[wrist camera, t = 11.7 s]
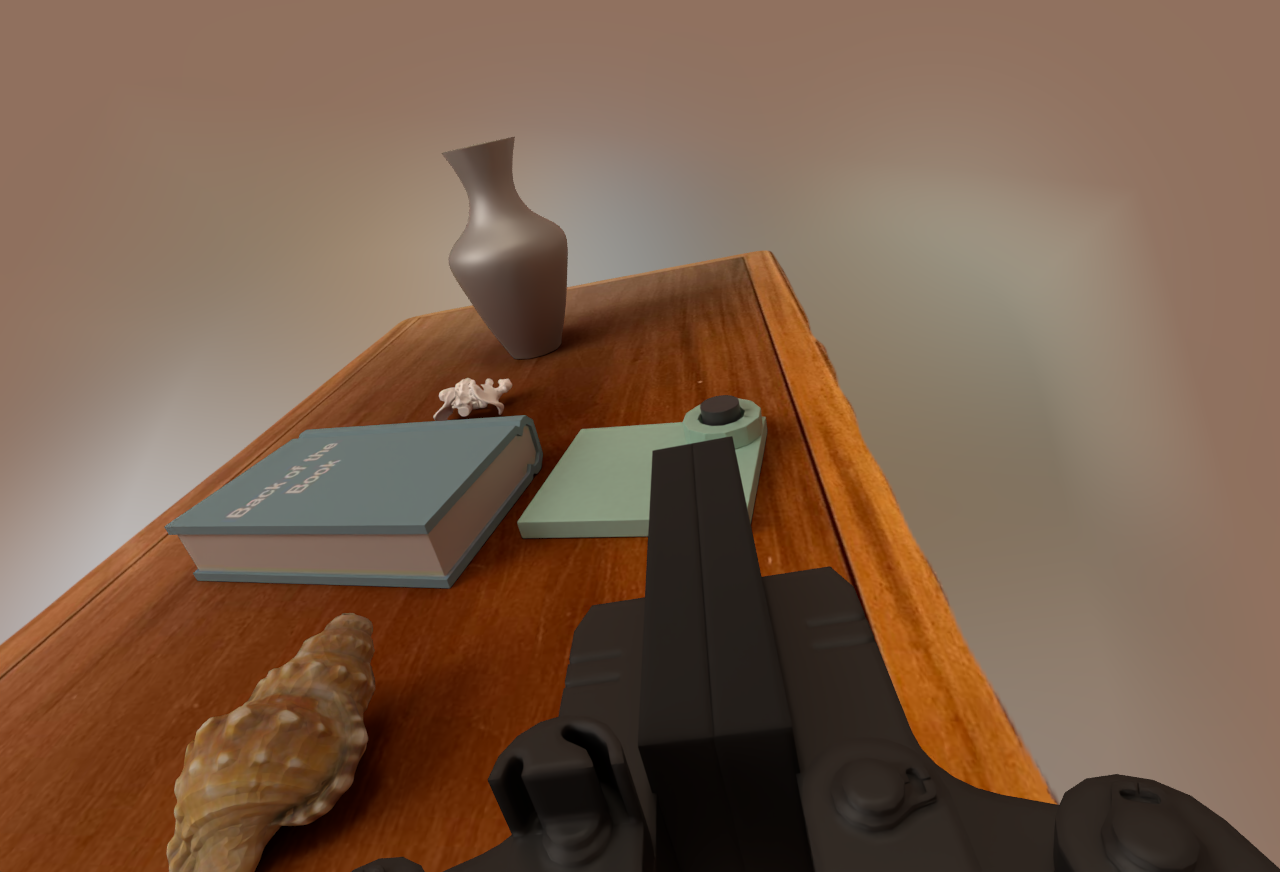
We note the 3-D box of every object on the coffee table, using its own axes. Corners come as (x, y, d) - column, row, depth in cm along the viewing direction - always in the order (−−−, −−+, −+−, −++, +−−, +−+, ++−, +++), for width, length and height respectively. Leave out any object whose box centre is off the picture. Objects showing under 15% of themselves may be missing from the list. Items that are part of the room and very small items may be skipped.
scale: (768, 429, 54) (763, 395, 53) (748, 535, 42) (742, 495, 41) (586, 440, 59) (578, 410, 58) (522, 538, 47) (509, 503, 46)
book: (197, 580, 51) (164, 526, 49) (334, 470, 65) (313, 425, 62) (450, 588, 44) (424, 525, 41) (545, 462, 57) (529, 410, 55)
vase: (574, 363, 79) (514, 135, 68) (463, 378, 82) (390, 163, 72) (601, 324, 91) (555, 126, 81) (504, 338, 95) (447, 150, 84)
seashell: (270, 788, 36) (277, 602, 36) (413, 805, 35) (420, 612, 35) (112, 908, 27) (121, 657, 27) (300, 935, 26) (309, 673, 26)
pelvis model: (510, 363, 71) (494, 381, 65) (520, 400, 73) (505, 421, 67) (439, 375, 72) (416, 394, 66) (450, 411, 74) (429, 433, 68)
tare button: (743, 409, 53) (741, 393, 52) (738, 427, 50) (736, 410, 49) (705, 412, 54) (703, 396, 53) (699, 429, 51) (696, 413, 50)
